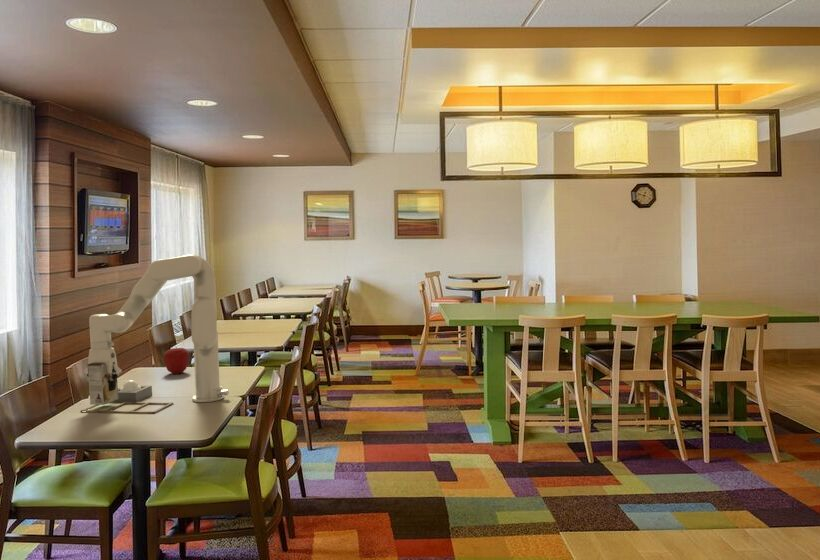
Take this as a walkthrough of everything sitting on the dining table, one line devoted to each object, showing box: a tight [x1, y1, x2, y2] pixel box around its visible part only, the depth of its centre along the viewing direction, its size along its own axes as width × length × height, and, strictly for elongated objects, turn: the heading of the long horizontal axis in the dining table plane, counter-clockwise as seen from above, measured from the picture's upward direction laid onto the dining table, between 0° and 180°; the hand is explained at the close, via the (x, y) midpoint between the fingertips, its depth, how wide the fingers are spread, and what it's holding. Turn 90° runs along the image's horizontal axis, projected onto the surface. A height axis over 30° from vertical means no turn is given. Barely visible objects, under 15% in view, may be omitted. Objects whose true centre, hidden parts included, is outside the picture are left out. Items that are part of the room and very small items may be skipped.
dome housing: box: [112, 385, 153, 402], centre depth 274 cm, size 12×12×4 cm
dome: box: [119, 379, 142, 392], centre depth 274 cm, size 8×8×6 cm
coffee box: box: [87, 363, 119, 406], centre depth 259 cm, size 9×6×16 cm
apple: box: [163, 347, 190, 375], centre depth 323 cm, size 12×12×13 cm
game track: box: [80, 401, 174, 415], centre depth 258 cm, size 31×14×1 cm, turn 81°
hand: (103, 389), depth 259 cm, fingers closed on coffee box, 6 cm apart
